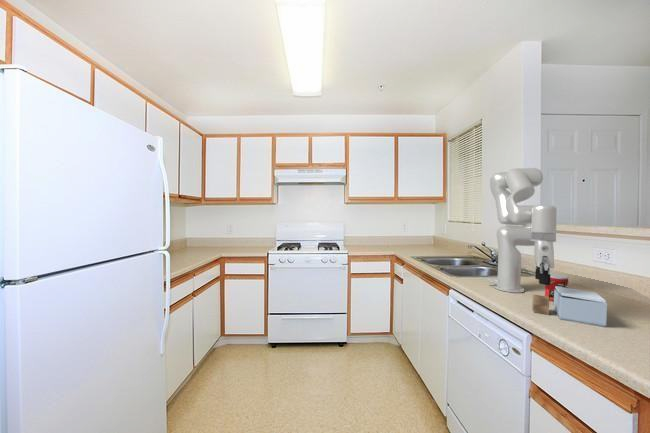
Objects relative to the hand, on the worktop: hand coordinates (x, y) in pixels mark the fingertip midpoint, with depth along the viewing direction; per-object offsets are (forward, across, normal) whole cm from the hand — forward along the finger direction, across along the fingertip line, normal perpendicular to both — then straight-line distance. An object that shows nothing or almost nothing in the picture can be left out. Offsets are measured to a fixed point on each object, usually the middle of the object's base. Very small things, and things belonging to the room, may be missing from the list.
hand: (542, 281), depth 104 cm
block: (+12, +1, 0) cm, 12 cm away
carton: (+12, +2, -11) cm, 16 cm away
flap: (+4, +2, -11) cm, 12 cm away
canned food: (+12, +23, -8) cm, 27 cm away
